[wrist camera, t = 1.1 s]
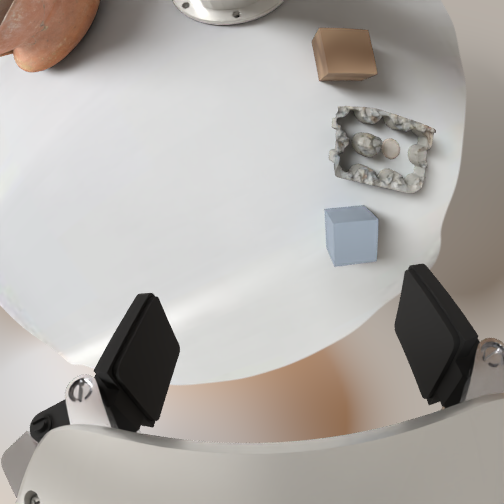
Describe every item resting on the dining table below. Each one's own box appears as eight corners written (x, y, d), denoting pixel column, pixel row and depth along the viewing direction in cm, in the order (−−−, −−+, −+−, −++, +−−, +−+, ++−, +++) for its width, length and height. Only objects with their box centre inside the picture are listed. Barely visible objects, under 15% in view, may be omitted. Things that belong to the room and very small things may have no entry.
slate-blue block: (324, 208, 28) (333, 223, 24) (363, 205, 28) (378, 219, 23) (326, 246, 30) (334, 266, 26) (363, 242, 29) (376, 261, 25)
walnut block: (311, 41, 20) (319, 27, 16) (353, 42, 20) (367, 30, 16) (319, 81, 22) (328, 73, 18) (361, 80, 22) (377, 74, 18)
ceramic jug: (123, -39, 14) (62, -80, 1) (116, 44, 20) (27, 18, 7) (28, 17, 16) (-36, 10, 3) (21, 94, 22) (-55, 105, 9)
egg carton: (421, 126, 23) (441, 129, 19) (409, 189, 26) (427, 199, 23) (332, 101, 23) (342, 97, 19) (322, 171, 26) (331, 179, 23)
